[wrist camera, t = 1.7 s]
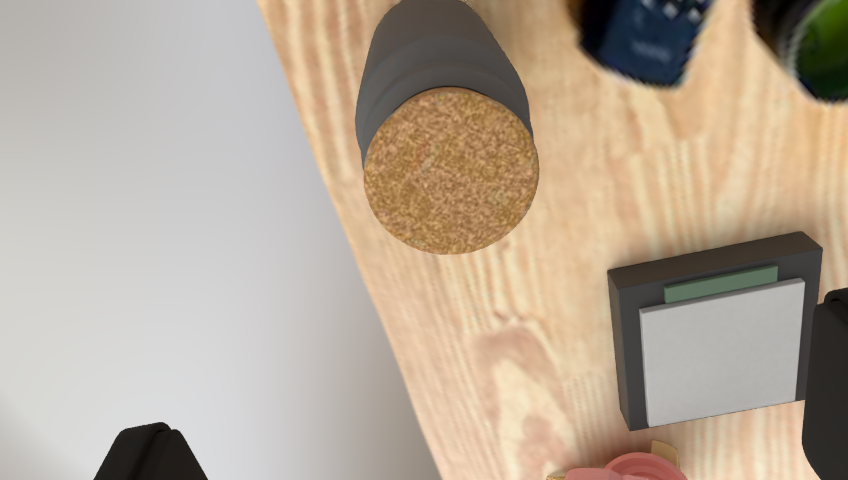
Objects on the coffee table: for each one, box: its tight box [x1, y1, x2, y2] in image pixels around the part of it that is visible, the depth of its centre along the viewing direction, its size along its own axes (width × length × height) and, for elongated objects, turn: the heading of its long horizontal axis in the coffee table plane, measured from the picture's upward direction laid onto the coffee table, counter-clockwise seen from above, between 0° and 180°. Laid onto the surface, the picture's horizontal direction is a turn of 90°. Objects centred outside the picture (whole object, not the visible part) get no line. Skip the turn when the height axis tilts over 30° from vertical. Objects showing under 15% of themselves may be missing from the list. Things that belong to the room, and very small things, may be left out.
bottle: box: [355, 0, 539, 255], centre depth 23 cm, size 6×6×15 cm
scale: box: [607, 232, 823, 431], centre depth 37 cm, size 11×11×2 cm
